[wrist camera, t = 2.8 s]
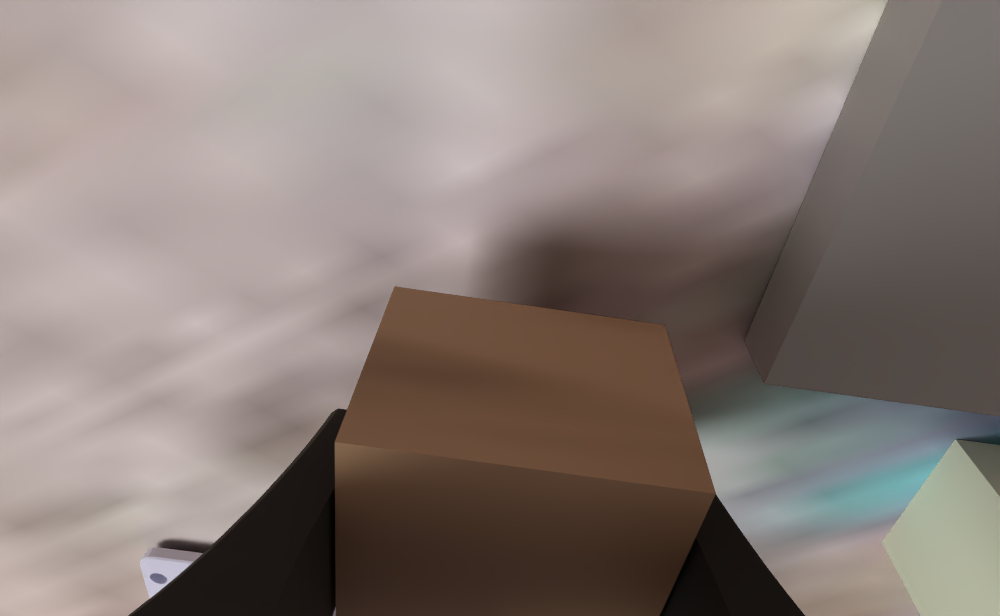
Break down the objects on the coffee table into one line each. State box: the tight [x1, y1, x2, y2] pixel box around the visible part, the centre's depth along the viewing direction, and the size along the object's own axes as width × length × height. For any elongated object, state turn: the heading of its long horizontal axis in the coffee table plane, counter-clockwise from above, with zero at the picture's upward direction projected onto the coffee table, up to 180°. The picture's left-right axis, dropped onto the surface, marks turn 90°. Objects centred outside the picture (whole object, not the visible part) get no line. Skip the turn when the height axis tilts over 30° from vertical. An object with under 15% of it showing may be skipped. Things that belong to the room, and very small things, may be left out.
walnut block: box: [335, 287, 716, 616], centre depth 11 cm, size 5×5×4 cm
